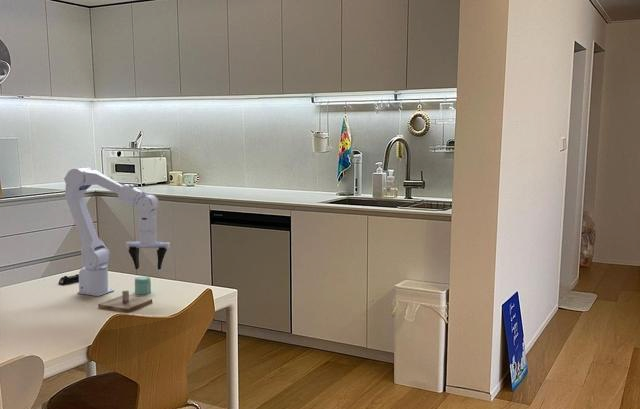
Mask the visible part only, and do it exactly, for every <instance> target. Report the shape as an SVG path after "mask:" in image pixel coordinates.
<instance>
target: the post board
mask: <svg viewBox="0 0 640 409" xmlns="http://www.w3.org/2000/svg"><path fill="white" fill-rule="evenodd" d="M150 304H151V305H152V304H153V298H146V297H141V296H139V297H138V296H133V295H130V293H129V290H127V289H126V290H122V291H121V295H120V296H117V297H115V298H112V299H111V298H110V299H109V300H107V301H103V302H101V303H98V304H97V308H98V309H103V310H108V311H109V310H110V311H115V312H116V311H117V312H122V313H123V312H124V313H131V312H134V311H136V310H138V309H141V308H143V307H146V306H148V305H150Z"/></svg>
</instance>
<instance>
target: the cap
mask: <svg viewBox="0 0 640 409" xmlns="http://www.w3.org/2000/svg"><path fill="white" fill-rule="evenodd" d="M151 287H152V283H151V278H150V276H138V277H135V278H134V293H135V294H136V295H148V294H151V292H152V290H151Z"/></svg>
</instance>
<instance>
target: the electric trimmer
mask: <svg viewBox="0 0 640 409" xmlns="http://www.w3.org/2000/svg"><path fill="white" fill-rule="evenodd" d="M75 282H79V273H78V274H74V275H70V276H67V275H65V276H63V277H62V276H61V277H60V279H59V281H58V285H61V286H66V285H68V284H72V283H75Z"/></svg>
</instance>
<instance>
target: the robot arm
mask: <svg viewBox="0 0 640 409" xmlns="http://www.w3.org/2000/svg"><path fill="white" fill-rule="evenodd" d="M63 179H64V183H65V191H64V197H65V200H66V202H67V206H68V208H69V210H70V212H71V216H72V219H73V221H74V225H75V227H76V229H77V232H78V234H79V237H80V240H81V242H82V245H81V248H80V254H81V263H82V265H83V267H82V268H80V270H79V273H78V274H79V281H78V291H77V294H82V295H87V296H95V297H100V296H102V295H106V294H108V293H112V292H114V291H115V289H112V288H109V273H108V272H109V268H108V266H109V265H108V263H109V262H110V261H111V258H112V255H111V251H110V249H108V248H107V246H106V245H105V242H104V241H103V240H102V239H100V238H99V236H98V233H97V231H96V227H95V225H94V222H93V219H92V217H91V215H90V211H89V210H88V207H87V204H86V201H85V199H84V195H85V193H86V192H87V190H88V189H89V188H90V187H91V186H93V185H97V186H99V187H101V188H104V189H106V190H107V191H110V192H113V193H114V194H117V196H118V199H120V200H121V201H123V202H125V203H126V204H129V205H131V206H133V207H135V208H136V210H137V211H138V232H139V234H138V235H139V236H138V237H139V238H138V239H139V240H138V241H126V242H125V248H126V249H128V253H129V255H130V258H131V259H132V262H133V264H134V268H135V270H138V269H139V268H140V259H139V257H140V249H157V250H156V254H157V270H158V271H159V270H161V269H162V267H163V266H162V264H163V261H164V258H165V255H166V253H167V251H168V250H169V249H171V248H170V246H171V244H170V243H171V242H169V241H168V242H167V241H165V242H164V241H157V240H158V239H157V238H158V237H157V229H158V228H157V209H158V208H159V206H160V202H159V198H158V197H157V196H156V195H155V194H152V193H148V194H147V191H145V190H143V191H142V190H140V189H139V188H137V187H135V185H134V184H131V183H130V184H128V183H126V184H124V185H122V184H121V183H119V182H118V181H115V180H114V179H112V178H110V177H108V176H107V175H105V174H103V173H101V172H100V171H99V170H97V169H94V168H92V167H88V166H86V167H82V168H81V167H80V168H72V169H70V170H68V172H67V173H66V174H65V176H64V178H63Z"/></svg>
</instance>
